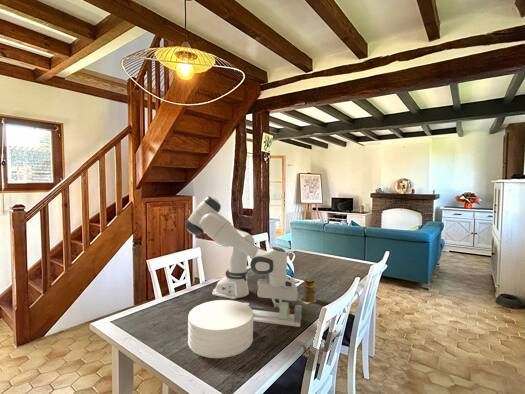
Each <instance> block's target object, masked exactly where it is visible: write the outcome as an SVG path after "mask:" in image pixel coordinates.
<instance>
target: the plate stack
mask: <svg viewBox="0 0 525 394" xmlns="http://www.w3.org/2000/svg"><path fill="white" fill-rule="evenodd" d="M244 303H245V302H240V301H236V300H233V299H230V300H229V299H217V300H211V301H206V302H203V303H201V304H198V305H196V306H194V307H193V308H192V309H191V310H190V311H189V313H188V315H187V316H188V317H187V319H188V320H187V331H188V332H187V345H188V347H189V350H190V351H192V352H193V353H195V354H196V355H198V356H199V357H200V356H201V357H205V358H209V359H226V358H229V357H234V356H236V355H239V354H241V353H243V352H245V351H246V350H247V349H249V347H250V346H251V345H252V343H253V341H254V335H253V334H254V321H253V310H252V309H251V308H250V307H249V306H248V305H246V304H244Z"/></svg>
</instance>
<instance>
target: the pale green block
mask: <svg viewBox="0 0 525 394" xmlns="http://www.w3.org/2000/svg"><path fill="white" fill-rule="evenodd" d="M288 308H290V306H289V302H284V301H282V302H281V304H280V306H279V319H287V316H288Z"/></svg>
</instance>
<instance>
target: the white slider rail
mask: <svg viewBox="0 0 525 394" xmlns="http://www.w3.org/2000/svg"><path fill="white" fill-rule="evenodd" d="M243 303H244V304H246V305H248V306H249V307H250V308H251V309H252V310H253V322H258V323H265V324H275V325H282V326H289V327H291V326H292V327H298V328H300V327H301V324H302V305H301V304H300V305H299V304H295V305H294V309H291V308H290V307H288V316H287V319H279V308H277V307H271V306H270V307H269V306H260V305H252V304H250V302H243Z"/></svg>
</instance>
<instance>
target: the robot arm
mask: <svg viewBox="0 0 525 394" xmlns="http://www.w3.org/2000/svg"><path fill="white" fill-rule="evenodd" d="M221 206H222V205H221V204H220V202H219V200H217V198H215V197H212V196H210V195H209V196H206V197H205V198H203V199H202V201H201V202H200V203H199V204H198V205H197V206H196V207H195V209H194V210H193V211H192V213H191V214H190V216H189V217H188V218H187V219H186V220H185V223H184V226H185V228H186V230H187V232H188V233H190V234H192V235H195V236H200V235H203V234H206V235H207V236H208V237H209V238H210V239H212V240H213V241H214V242H215V243H216V244H218V245H220V246H221V247H224V248H226V247H227V248H229V247H231V248H232V254H231V255H230V256H229V258H228V268H227V269H226V271H225V273H224V275H225V276H224V277H222V278H221V279H220V280H219V281H217V284H216V286H215V288H214V289H213V290H212V293H211V294H212V295H213V296H217V297H222V298H225V299H226V298H227V299H230V300H235V299H238V298H244V297H247V296H248V295H249V293H250V292H249V287H248V275H249V274H248V268H247V267H248V257H249V258H250V259H251V261H250V265H249V266H250V270H251V271H252V272H254V273H255V274H257V275H265V274H268V278H259V279H258V280H257V281H256V282H257V283H256V284H257V293H256V294H257V297H258V298H263V299H271V302H272V303H273V308H279V306H280V304H281V302H283V300H284V301H291V302H292V301H293V302H297V300H298V299H299V297H298V294H299V293H298V286H297V285H296V279H295V278H293V277H291V276H289V275H287V274H288V273H287V267H288V257H287V256H288V255H287V252H286V250H285V249H284V248H281V247H280V246H279V247H278V246H272V247H270V249H268V250H267V249H265V248H262V247H258V246H257V245H255V239H254V236H253V235H251V234H250V233H249V232H246V231H242V230H240V229H238V228H236V227H235V226H234V225H233V224H232V222H231V221H229V220H228V219H227V218H225V217H224V216H223V215H222V214H220V213H219V212H220V210H221V209H222V207H221ZM276 300H278V302H276Z"/></svg>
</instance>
